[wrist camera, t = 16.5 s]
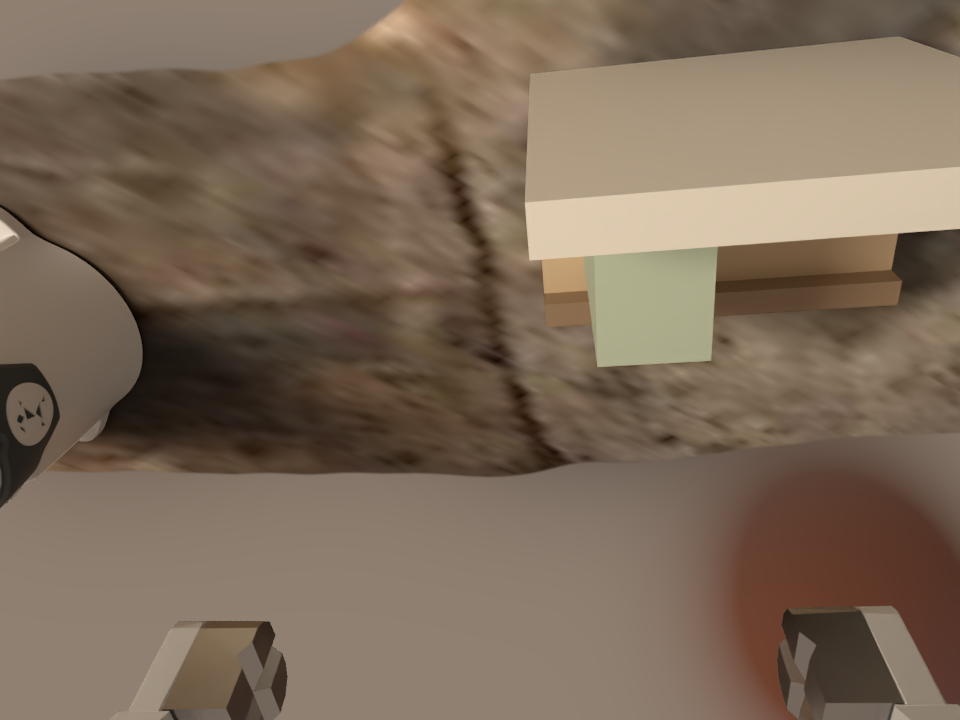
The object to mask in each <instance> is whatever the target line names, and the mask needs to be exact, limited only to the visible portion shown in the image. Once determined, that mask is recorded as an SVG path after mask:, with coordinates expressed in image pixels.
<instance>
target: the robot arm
mask: <svg viewBox="0 0 960 720" xmlns="http://www.w3.org/2000/svg"><path fill="white" fill-rule="evenodd" d="M142 357H143V351H142V342H141V337H140V333H139V330H138V327H137V324H136V322H135V319H134V317H133V315H132V313H131V311H130V310H129V308H128V306H127V304H126V303H125V301H124V300H123V299H122V297H121V296H120V295H119V293H118V292H117V291H116V290H115V288H114V287H113V286H112V285H111V284H110V283H109V282H108V281H107V280H106V279H105V278H104V277H103V276H102V275H101V274H100V273H99V272H97V271H96V270H95V269H94V268H93V267H91V266H90V265H89V264H87V263H86V262H84V261H83V260H81V259H80V258H78V257H77V256H75V255H73V254H72V253H70V252H68V251H66V250H64V249H62V248H60V247H58V246H55V245H53V244H51V243H49V242H47V241H45V240H43V239H41V238H39V237H37V236H36V235H34V234H32V233H31V232H30V231H29V230H28V229H27V228H26V227H24V226H23V225H22V224H21V223H20V222H19V221H18V220H16V219H15V218H14V217H13V216H12V215H10V214H9V213H8V212H6V211H5V210H4V209H2V208H0V508H1V507H2V506H3V505H4V504H5V503H8V501H9V500H10V499H12V498H13V497H14V496H15V495H16V494H17V493H18V492H19V491H20V490H21V488H22V487H21V486H22V485H23V484H24V483H28V482H31V481H33V480H35V479H36V478H38V477H39V476H40V475H41V474H42V473H44V472H45V471H46V470H47V469H48V468H49V467H50V466H51V465H52V464H54V463H55V462H56V461H57V460H58V459H59V458H60V457H61V456H62V455H63V454H65V453H66V452H67V451H68V450H69V449H70V448H71V447H72V446H73V445H74V444H75V443H76V442H78V441H91V440H93V439H94V438H95V437H96V436H98V435H99V434H100V433H101V432H102V431H103V429H104V427H105V425H106V422H107V419H108V415H109V411H110V410H111V408H112V407H113V406H114V405H115V404H116V403H117V402H118V401H120V400H121V399H122V398H123V397H124V396H125V395H126V394H127V393H128V392H129V391H130V390H131V389H132V387H133V386H134V384H135V383H136V381H137V379H138V376H139V374H140V370H141V366H142ZM782 627H783V630H784V633H785V636H786V639H785V640H784V641H783V642H782V643H780V644H779V649H778V659H777V662H778V675H779V682H780V686H781V690H782V695H783V698H784V701H785V705H786V708H787V710H789V711H790V712H791V713H792V714H793V715H794V716H795V717H796V718H797V719H798V720H960V706H959V705H957V704H946V702H945V700H944V698H943V696H942V694H941V692H940V690H939V688H938V687H937V685H936V683H935V681H934V679H933V677H932V675H931V673H930V671H929V670H928V668H927V666H926V664H925V662H924V660H923V658H922V656H921V655H920V653H919V650H918V649H917V647H916V645H915V643H914V641H913V639H912V637H911V635H910V633H909V631H908V630H907V628H906V626H905V624H904V622H903V620H902V618H901V616H900V614H899V613H898V611H897V610H896V609H895V608H893V607H892V606H865V607H853V606H844V607H843V606H841V607H817V608H816V607H813V608H787V609H786V611H785V612H784V614H783V620H782ZM274 638H275V633H274V631H273V628H272V626H271V624H270V622H265V621H179V622H178V623H176V624H175V625H174V626H173V627H172V628H171V629H170V630H169V632H168V634H167V636H166V638H165V640H164V642H163V644H162V646H161V648H160V650H159V652H158V654H157V656H156V658H155V660H154V662H153V664H152V666H151V668H150V669H149V671H148V674H147V675H146V677H145V679H144V681H143V683H142V685H141V687H140V689H139V691H138V693H137V695H136V697H135V699H134V701H133V703H132V704H131V707H130V708H129V710H128V711H120V712H118V713H117V714H116V715H115V716H113V717H112V718H111V719H110V720H273V719H275V718H276V717H277V716H278V715H279V714H280V712H281V709H282V705H283V702H284V699H285V695H286V685H287V671H286V670H287V669H286V663H285V660H284V657H283V654H282V653H281V652H280V651H278V650H277V649H276V648H274V647H273V646H272V644H273V640H274Z"/></svg>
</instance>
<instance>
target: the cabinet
mask: <svg viewBox="0 0 960 720" xmlns="http://www.w3.org/2000/svg"><path fill="white" fill-rule="evenodd" d="M717 251H718V247H705V248H691V249H678V250H664V251H651V252H637V253H623V254H610V255H596V256H583V261H584V269H585V276H586V284H587V291H588V299H589V306H590V314H591V321H592V329H593V337H594V344H595V352H596V359H597V367H606V366H624V365H642V364H660V363H678V362H696V361H711V352H712V335H713V318H714V301H715V285H716V268H717Z"/></svg>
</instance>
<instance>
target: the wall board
mask: <svg viewBox="0 0 960 720" xmlns="http://www.w3.org/2000/svg"><path fill="white" fill-rule="evenodd" d="M525 209H526V222H527V234H528V247H529V259H530V260H542V268H543V282H544V303H545V318H546V327H555V326H571V325H587V324H592V321H591V314H590V306H589V299H588V291H587V284H586V276H585V269H584V261H583V256H596V255H610V254H623V253H637V252H651V251H664V250H678V249H691V248H705V247H718V251H717V268H716V285H715V301H714V316H729V315H744V314H760V313H776V312H792V311H807V310H823V309H839V308H855V307H871V306H886V305H898V300H899V295H900V290H901V284H902V280H901V279H900V278H899V277H898V276H897V275H896V274H895V273H894V272H893V271H892V270H891V269H892V264H893V258H894V253H895V248H896V242H897V237H898V233H909V232H922V231H936V230H950V229H960V57H958V56H955V55H952V54H949V53H946V52H943V51H940V50H938V49H935V48H932V47H929V46H926V45H923V44H920V43H917V42H914V41H912V40H909V39H906V38H903V37H900V36H898V37H888V38H878V39H869V40H859V41H849V42H839V43H829V44H819V45H809V46H800V47H790V48H780V49H770V50H760V51H750V52H740V53H731V54H721V55H711V56H701V57H691V58H681V59H672V60H662V61H652V62H642V63H632V64H622V65H612V66H603V67H593V68H583V69H573V70H563V71H553V72H543V73H534V74H530V94H529V118H528V142H527V166H526V189H525Z"/></svg>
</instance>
